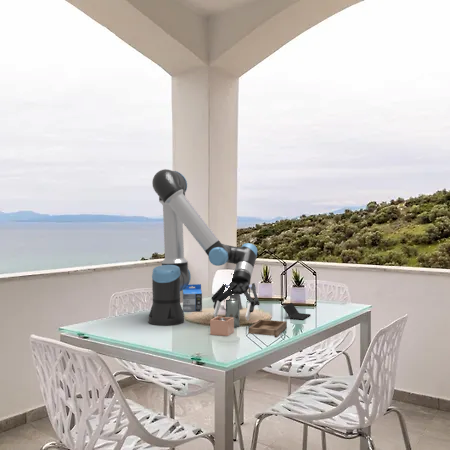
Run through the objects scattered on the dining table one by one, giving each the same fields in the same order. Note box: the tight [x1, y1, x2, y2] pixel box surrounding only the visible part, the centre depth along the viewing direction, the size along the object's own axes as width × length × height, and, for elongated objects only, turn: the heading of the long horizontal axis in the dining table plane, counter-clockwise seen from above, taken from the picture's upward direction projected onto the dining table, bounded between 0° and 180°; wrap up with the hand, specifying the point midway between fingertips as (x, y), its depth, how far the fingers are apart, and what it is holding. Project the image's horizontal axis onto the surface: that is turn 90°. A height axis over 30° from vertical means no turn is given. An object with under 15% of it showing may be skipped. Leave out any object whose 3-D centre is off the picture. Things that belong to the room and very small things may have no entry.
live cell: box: [225, 298, 241, 329], centre depth 208 cm, size 6×6×12 cm
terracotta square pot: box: [209, 315, 235, 337], centre depth 197 cm, size 7×7×6 cm
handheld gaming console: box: [283, 302, 311, 321], centre depth 229 cm, size 12×7×10 cm
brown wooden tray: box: [247, 319, 288, 338], centre depth 202 cm, size 11×16×3 cm
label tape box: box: [182, 283, 203, 313], centre depth 242 cm, size 9×4×12 cm, turn 97°
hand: (230, 317), depth 206 cm, fingers open, 13 cm apart
